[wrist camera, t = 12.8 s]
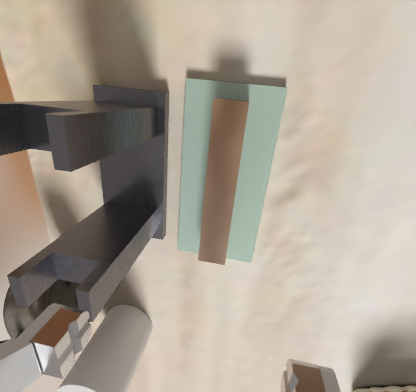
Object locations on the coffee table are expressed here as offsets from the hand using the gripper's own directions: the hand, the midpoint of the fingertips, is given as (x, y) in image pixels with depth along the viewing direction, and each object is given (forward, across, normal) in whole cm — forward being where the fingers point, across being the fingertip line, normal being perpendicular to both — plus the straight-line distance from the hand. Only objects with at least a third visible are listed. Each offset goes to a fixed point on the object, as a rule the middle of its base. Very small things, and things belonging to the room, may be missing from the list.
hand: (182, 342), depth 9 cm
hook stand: (+20, +12, 0) cm, 23 cm away
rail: (+20, +1, 0) cm, 20 cm away
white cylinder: (+20, +14, +28) cm, 37 cm away
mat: (+20, +1, 0) cm, 20 cm away
